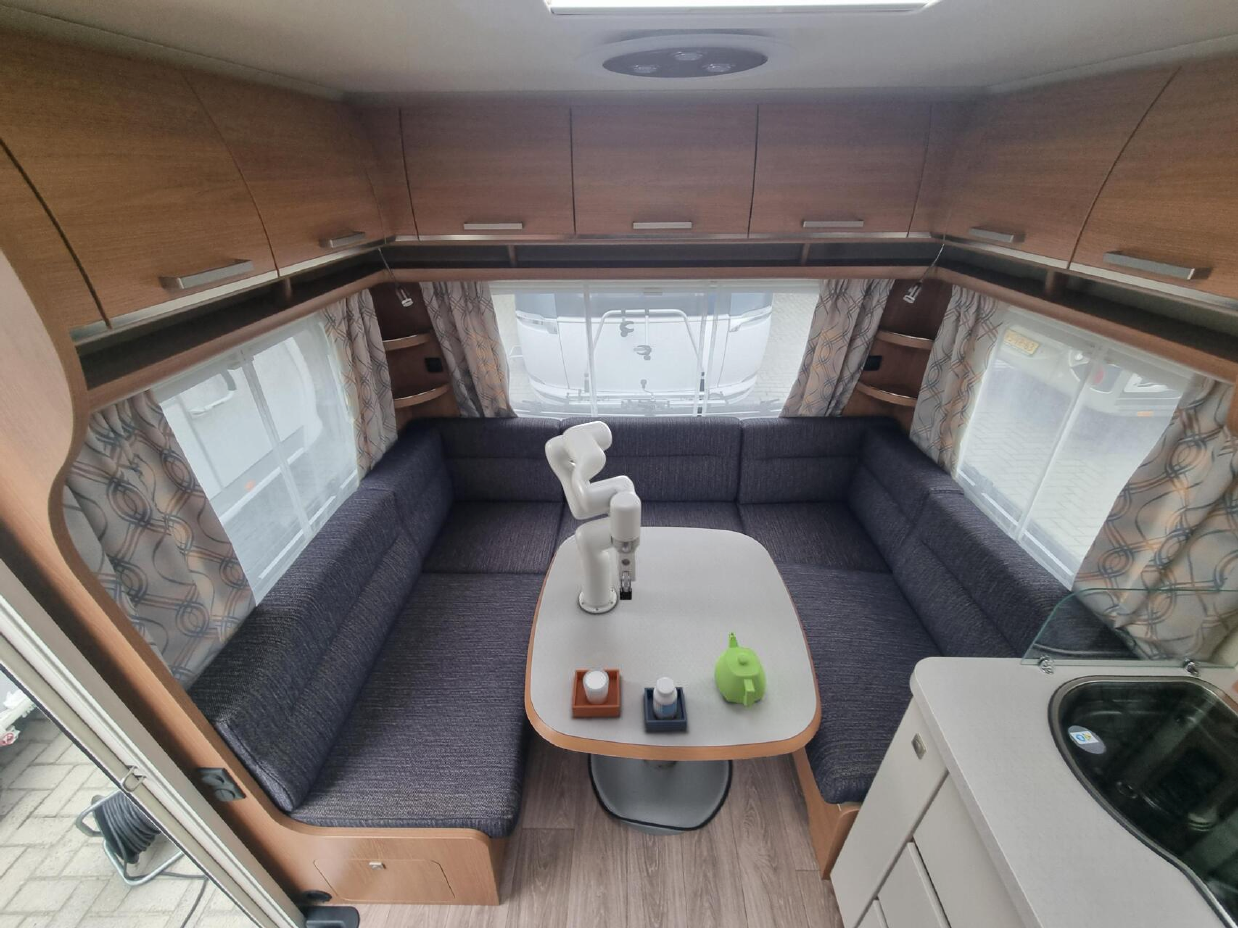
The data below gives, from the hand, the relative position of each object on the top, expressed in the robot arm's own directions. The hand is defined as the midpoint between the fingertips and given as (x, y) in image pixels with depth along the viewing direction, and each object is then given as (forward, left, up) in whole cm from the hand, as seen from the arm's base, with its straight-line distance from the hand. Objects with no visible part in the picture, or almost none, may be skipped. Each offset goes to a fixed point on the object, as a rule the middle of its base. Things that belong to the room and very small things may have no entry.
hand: (625, 585), depth 132 cm
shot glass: (+15, -8, -27) cm, 31 cm away
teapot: (+12, +31, -27) cm, 43 cm away
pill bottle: (+20, +10, -27) cm, 34 cm away
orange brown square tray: (+15, -8, -27) cm, 32 cm away
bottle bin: (+20, +10, -27) cm, 35 cm away
